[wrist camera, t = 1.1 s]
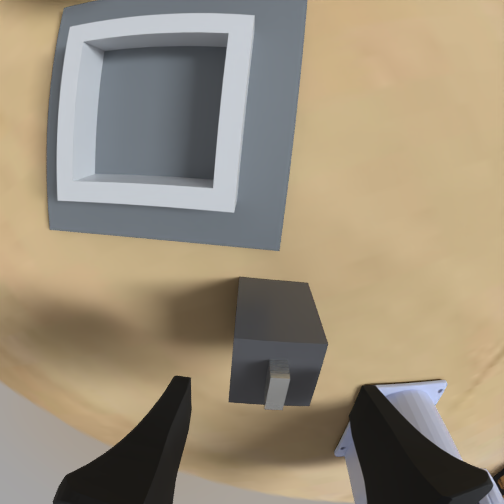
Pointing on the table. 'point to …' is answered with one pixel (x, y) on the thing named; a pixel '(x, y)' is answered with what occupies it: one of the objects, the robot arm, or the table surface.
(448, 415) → the table surface
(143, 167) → the end holder
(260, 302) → the block
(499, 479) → the ammunition clip
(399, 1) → the table surface
